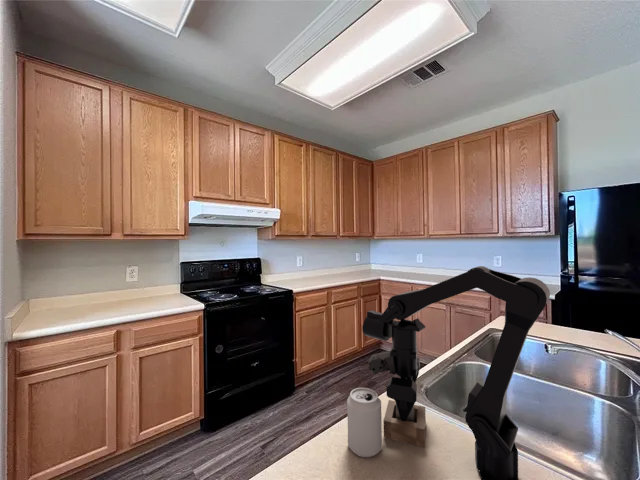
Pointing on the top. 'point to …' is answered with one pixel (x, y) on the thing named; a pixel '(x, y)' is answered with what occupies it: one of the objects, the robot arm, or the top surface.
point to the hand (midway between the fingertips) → (405, 409)
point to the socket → (405, 426)
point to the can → (364, 422)
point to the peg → (410, 417)
